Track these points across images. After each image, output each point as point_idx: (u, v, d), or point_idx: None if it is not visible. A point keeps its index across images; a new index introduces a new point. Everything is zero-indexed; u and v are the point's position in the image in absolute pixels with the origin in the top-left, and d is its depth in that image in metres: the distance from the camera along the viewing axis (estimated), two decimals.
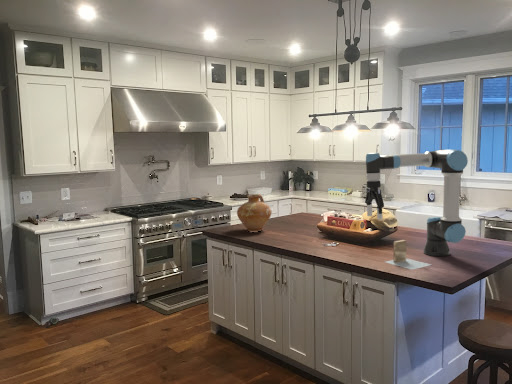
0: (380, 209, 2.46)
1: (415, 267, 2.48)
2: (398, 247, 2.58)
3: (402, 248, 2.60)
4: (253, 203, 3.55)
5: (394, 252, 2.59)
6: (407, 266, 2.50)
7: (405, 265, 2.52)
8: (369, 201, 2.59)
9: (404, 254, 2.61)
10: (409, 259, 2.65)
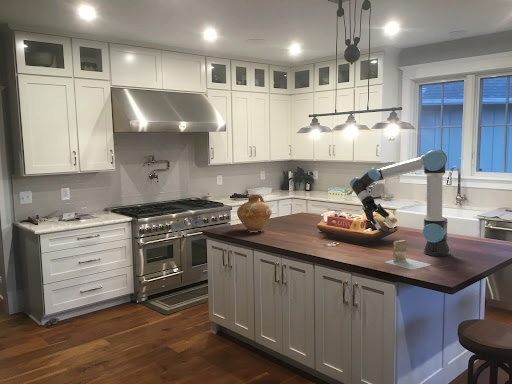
0: (372, 221, 2.68)
1: (415, 267, 2.48)
2: (398, 247, 2.58)
3: (402, 248, 2.60)
4: (253, 203, 3.55)
5: (394, 252, 2.59)
6: (407, 266, 2.50)
7: (405, 265, 2.52)
8: (382, 215, 2.76)
9: (404, 254, 2.61)
10: (409, 259, 2.65)
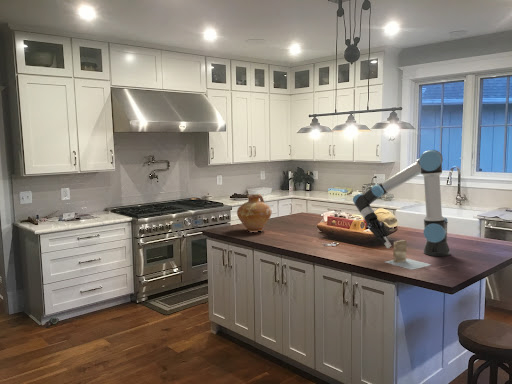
0: (382, 239, 2.69)
1: (415, 267, 2.48)
2: (398, 247, 2.58)
3: (402, 248, 2.60)
4: (253, 203, 3.55)
5: (394, 252, 2.59)
6: (407, 266, 2.50)
7: (405, 265, 2.52)
8: None
9: (404, 254, 2.61)
10: (409, 259, 2.65)
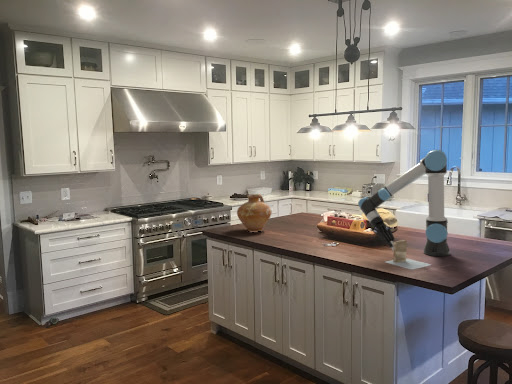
0: (388, 243, 2.65)
1: (415, 267, 2.48)
2: (398, 247, 2.58)
3: (403, 248, 2.60)
4: (253, 203, 3.55)
5: (394, 252, 2.59)
6: (407, 266, 2.50)
7: (405, 265, 2.52)
8: None
9: (404, 254, 2.61)
10: (409, 259, 2.65)
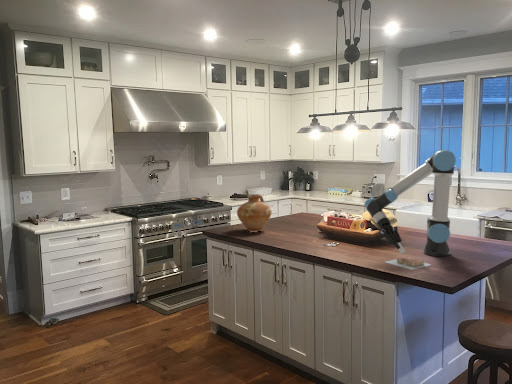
0: (395, 245, 2.61)
1: (415, 267, 2.48)
2: None
3: None
4: (253, 203, 3.55)
5: (405, 262, 2.53)
6: (407, 266, 2.50)
7: (405, 265, 2.52)
8: None
9: None
10: None
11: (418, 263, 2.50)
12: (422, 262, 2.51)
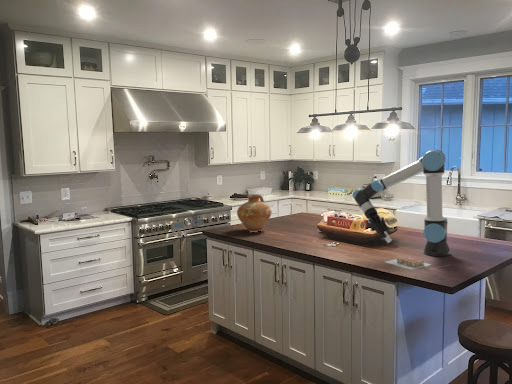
0: (382, 234, 2.69)
1: (415, 267, 2.48)
2: None
3: None
4: (253, 203, 3.55)
5: (405, 262, 2.53)
6: (407, 266, 2.50)
7: (405, 265, 2.52)
8: None
9: None
10: None
11: (418, 263, 2.50)
12: (422, 262, 2.51)
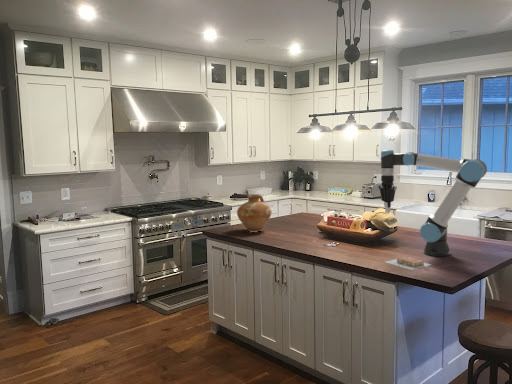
0: (389, 203, 2.79)
1: (415, 267, 2.48)
2: None
3: None
4: (253, 203, 3.55)
5: (405, 262, 2.53)
6: (407, 266, 2.50)
7: (405, 265, 2.52)
8: (386, 197, 2.80)
9: None
10: None
11: (418, 263, 2.50)
12: (422, 262, 2.51)
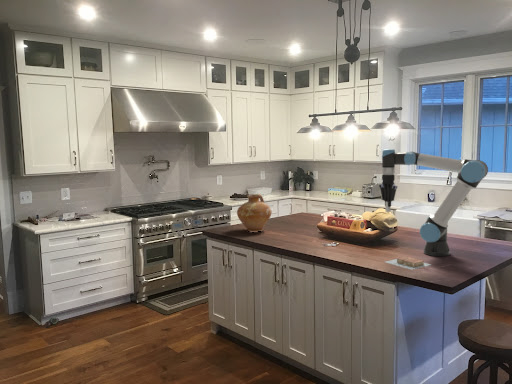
0: (390, 203, 2.79)
1: (415, 267, 2.48)
2: None
3: None
4: (253, 203, 3.55)
5: (405, 262, 2.53)
6: (407, 266, 2.50)
7: (405, 265, 2.52)
8: (386, 196, 2.80)
9: None
10: None
11: (418, 263, 2.50)
12: (422, 262, 2.51)
